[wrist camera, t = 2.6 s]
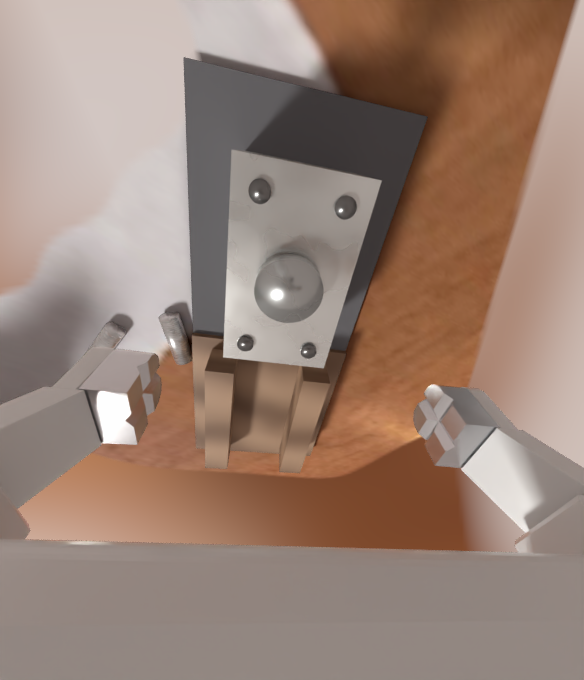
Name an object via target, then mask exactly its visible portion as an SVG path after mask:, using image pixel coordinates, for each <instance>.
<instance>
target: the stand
mask: <svg viewBox="0 0 584 680" xmlns="http://www.w3.org/2000/svg"><path fill="white" fill-rule="evenodd" d="M223 347H224V336H216V335H208V334H200V333H193V334H192V356H193V382H194V408H195V434H196V448H201V449H205V468H219V469H227V466H228V460H229V454H230V450H231V451H246V452H260V453H275V454H279V472H288V473H300V471H301V468H302V465H303V462H304V459H305V456H310V455H311V452H312V449H313V446H314V444H315V441H316V438H317V435H318V432H319V430H320V427H321V424H322V421H323V418H324V416H325V413H326V410H327V407H328V404H329V401H330V399H331V396H332V393H333V390H334V387H335V385H336V382H337V379H338V376H339V373H340V371H341V368H342V365H343V362H344V359H345V357H346V351H342V350H333V349H330V350H329V353H328V356H327V359H326V363H325V366H324V368H316V367H307V366H298V365H289V364H280V363H271V362H261V361H252V360H243V359H234V358H225V357H223Z"/></svg>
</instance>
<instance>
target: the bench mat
mask: <svg viewBox="0 0 584 680" xmlns="http://www.w3.org/2000/svg"><path fill="white" fill-rule="evenodd" d="M184 82H185V112H186V141H187V170H188V199H189V228H190V257H191V286H192V314H193V333H200V334H208V335H216V336H224V323H225V298H226V274H227V249H228V224H229V200H230V175H231V151H232V150H245V151H250V152H255V153H260V154H264V155H269V156H274V157H279V158H284V159H288V160H293V161H298V162H303V163H308V164H313V165H317V166H322V167H327V168H332V169H337V170H341V171H346V172H351V173H355V174H359V175H363V176H367V177H370V178H374V179H378V180H382V182H381V185H380V188H379V191H378V195H377V198H376V201H375V204H374V208H373V211H372V214H371V217H370V220H369V224H368V227H367V230H366V233H365V237H364V240H363V243H362V246H361V250H360V253H359V256H358V259H357V262H356V266H355V269H354V272H353V275H352V279H351V282H350V285H349V288H348V291H347V295H346V298H345V301H344V304H343V308H342V311H341V314H340V317H339V321H338V324H337V327H336V330H335V333H334V337H333V340H332V343H331V346H330V349H333V350H342V351H346V348H347V345H348V342H349V339H350V337H351V334H352V331H353V328H354V325H355V322H356V320H357V317H358V314H359V311H360V308H361V305H362V302H363V300H364V297H365V294H366V291H367V288H368V285H369V283H370V280H371V277H372V274H373V271H374V268H375V265H376V263H377V260H378V257H379V254H380V251H381V248H382V246H383V243H384V240H385V237H386V234H387V231H388V229H389V226H390V223H391V220H392V217H393V214H394V211H395V209H396V206H397V203H398V200H399V197H400V194H401V192H402V189H403V186H404V183H405V180H406V177H407V174H408V172H409V169H410V166H411V163H412V160H413V157H414V155H415V152H416V149H417V146H418V143H419V140H420V137H421V135H422V132H423V129H424V126H425V123H426V120H427V118H428V117H427V116H423V115H419V114H414V113H410V112H406V111H402V110H398V109H394V108H390V107H386V106H382V105H378V104H373V103H369V102H365V101H361V100H357V99H353V98H349V97H345V96H341V95H337V94H332V93H328V92H324V91H320V90H316V89H312V88H308V87H304V86H300V85H296V84H291V83H287V82H283V81H279V80H275V79H271V78H267V77H263V76H259V75H255V74H250V73H246V72H242V71H238V70H234V69H230V68H226V67H222V66H218V65H214V64H209V63H205V62H201V61H197V60H193V59H189V58H185V57H184Z"/></svg>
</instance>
